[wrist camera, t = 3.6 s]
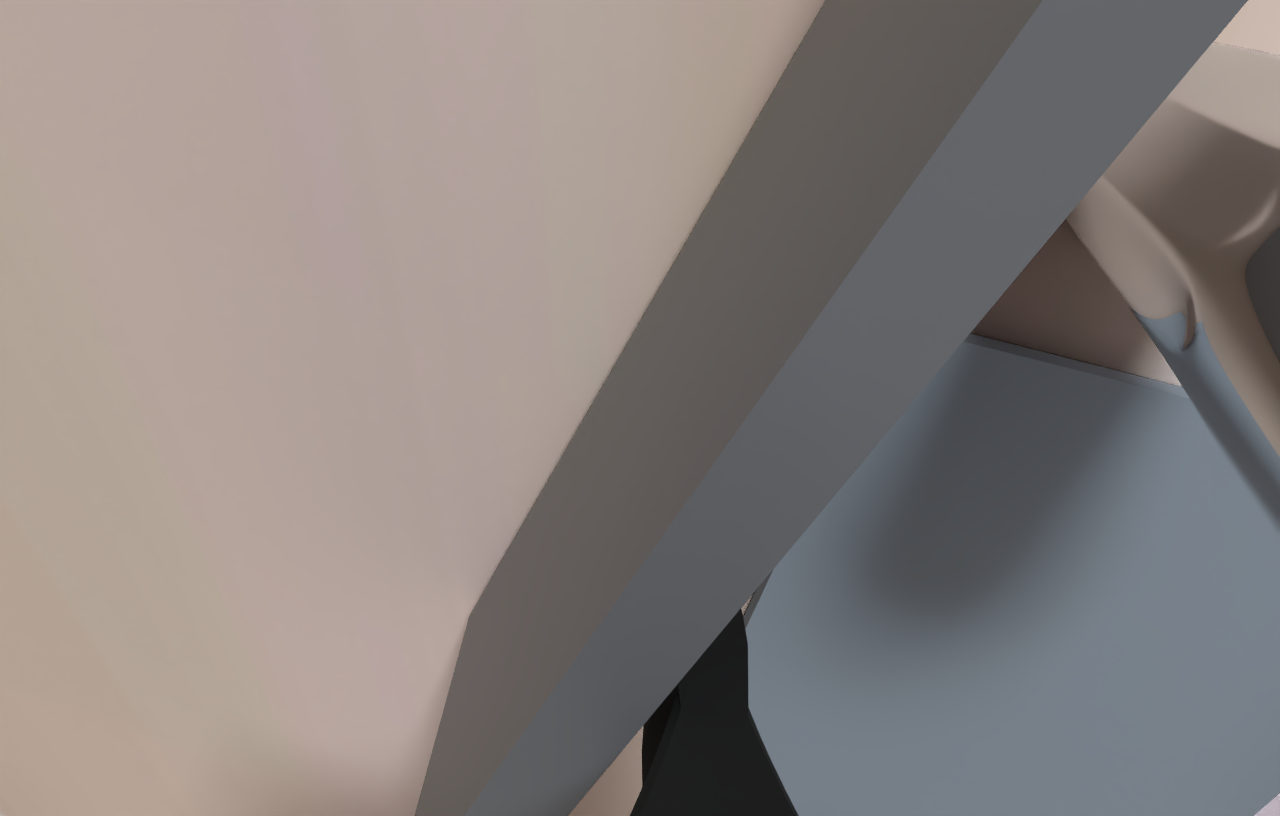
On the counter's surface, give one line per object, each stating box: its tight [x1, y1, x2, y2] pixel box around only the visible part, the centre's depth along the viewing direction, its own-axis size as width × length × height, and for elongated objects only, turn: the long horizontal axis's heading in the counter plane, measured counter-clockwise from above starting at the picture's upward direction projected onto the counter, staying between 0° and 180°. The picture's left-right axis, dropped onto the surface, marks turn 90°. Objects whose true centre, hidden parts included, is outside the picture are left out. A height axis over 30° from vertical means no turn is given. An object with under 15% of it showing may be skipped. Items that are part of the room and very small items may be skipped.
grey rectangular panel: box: [415, 0, 1248, 816], centre depth 11 cm, size 2×20×7 cm, turn 153°
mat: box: [743, 333, 1280, 816], centre depth 19 cm, size 14×14×1 cm
